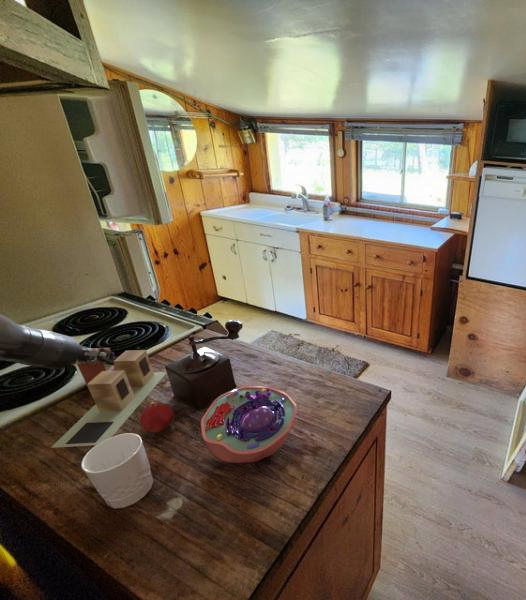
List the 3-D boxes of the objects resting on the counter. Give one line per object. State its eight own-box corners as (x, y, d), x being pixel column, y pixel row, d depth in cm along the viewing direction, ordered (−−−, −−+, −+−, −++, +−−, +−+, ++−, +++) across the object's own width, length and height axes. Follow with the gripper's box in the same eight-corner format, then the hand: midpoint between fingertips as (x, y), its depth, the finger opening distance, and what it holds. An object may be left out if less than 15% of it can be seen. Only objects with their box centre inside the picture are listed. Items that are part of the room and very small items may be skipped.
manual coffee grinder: (200, 413, 76) (181, 349, 68) (172, 396, 80) (152, 334, 73) (255, 377, 88) (245, 319, 81) (229, 364, 93) (216, 308, 85)
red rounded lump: (138, 437, 69) (126, 409, 66) (162, 418, 74) (152, 390, 71) (161, 443, 68) (150, 415, 65) (183, 423, 73) (174, 395, 70)
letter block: (86, 384, 83) (74, 359, 80) (100, 373, 87) (89, 348, 84) (107, 384, 84) (96, 358, 80) (120, 372, 88) (110, 347, 84)
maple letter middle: (99, 412, 74) (86, 384, 71) (113, 397, 79) (102, 370, 75) (122, 411, 75) (111, 383, 72) (135, 396, 79) (125, 370, 76)
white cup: (98, 521, 54) (75, 481, 50) (106, 483, 60) (86, 444, 56) (156, 497, 58) (139, 459, 53) (158, 464, 64) (143, 426, 59)
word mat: (51, 449, 66) (50, 447, 66) (127, 374, 87) (127, 372, 87) (105, 446, 67) (104, 444, 67) (167, 373, 88) (167, 371, 88)
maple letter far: (123, 387, 82) (113, 361, 79) (135, 375, 86) (125, 350, 83) (144, 386, 83) (135, 360, 79) (155, 374, 87) (146, 349, 84)
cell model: (267, 400, 81) (261, 363, 76) (316, 445, 69) (312, 405, 64) (193, 441, 69) (180, 400, 64) (236, 503, 57) (224, 459, 53)
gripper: (85, 331, 71) (136, 346, 87) (12, 332, 70) (77, 348, 86) (75, 365, 69) (129, 374, 85) (-1, 367, 67) (69, 376, 83)
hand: (103, 361), depth 85 cm, fingers closed on letter block, 5 cm apart
